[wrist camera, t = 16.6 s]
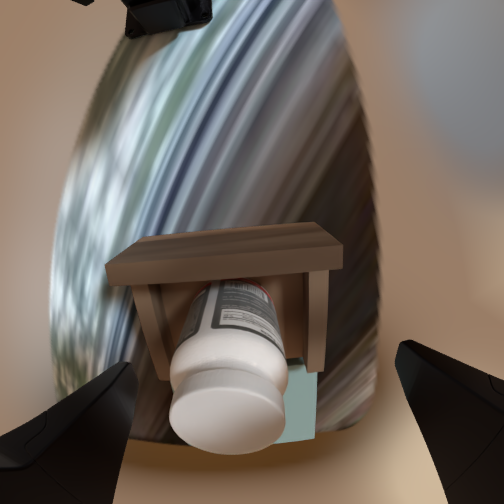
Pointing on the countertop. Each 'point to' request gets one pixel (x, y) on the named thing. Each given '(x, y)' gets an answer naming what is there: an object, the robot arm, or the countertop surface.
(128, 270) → the wooden open crate
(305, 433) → the pale green rectangular panel
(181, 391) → the pill bottle
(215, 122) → the countertop surface
